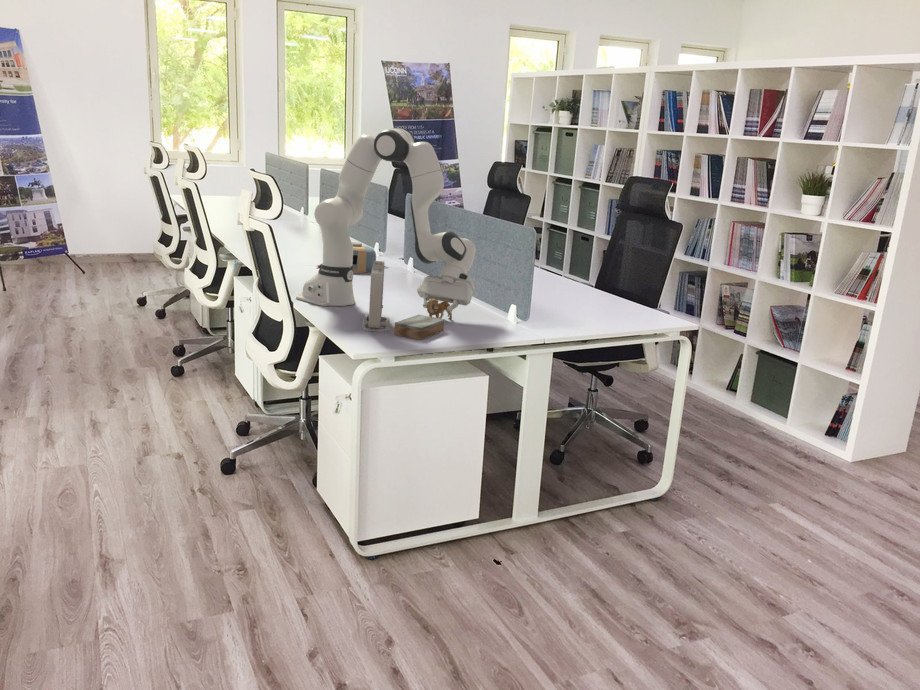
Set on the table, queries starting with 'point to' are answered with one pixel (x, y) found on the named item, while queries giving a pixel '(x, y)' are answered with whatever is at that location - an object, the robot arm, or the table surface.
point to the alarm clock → (362, 258)
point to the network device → (376, 300)
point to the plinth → (419, 327)
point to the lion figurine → (437, 308)
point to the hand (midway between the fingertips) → (436, 309)
